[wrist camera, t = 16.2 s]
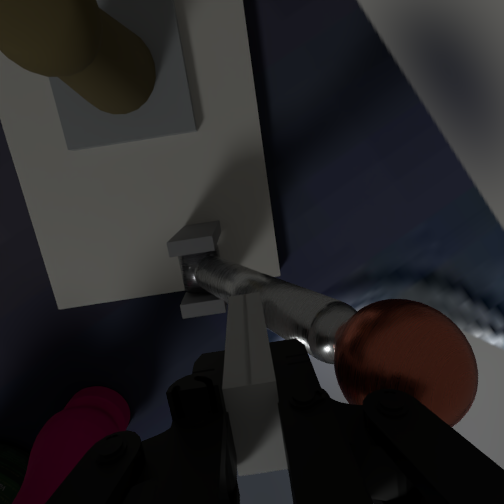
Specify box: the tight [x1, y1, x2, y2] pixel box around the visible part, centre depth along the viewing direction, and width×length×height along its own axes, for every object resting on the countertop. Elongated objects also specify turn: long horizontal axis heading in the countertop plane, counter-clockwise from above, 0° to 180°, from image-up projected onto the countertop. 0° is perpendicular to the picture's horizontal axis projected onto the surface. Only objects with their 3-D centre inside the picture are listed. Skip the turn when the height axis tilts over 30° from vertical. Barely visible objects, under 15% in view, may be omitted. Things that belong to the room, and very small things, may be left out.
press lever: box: [178, 245, 478, 427], centre depth 18 cm, size 4×4×20 cm
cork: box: [0, 0, 156, 114], centre depth 20 cm, size 6×6×11 cm
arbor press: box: [0, 0, 280, 319], centre depth 25 cm, size 20×26×8 cm
